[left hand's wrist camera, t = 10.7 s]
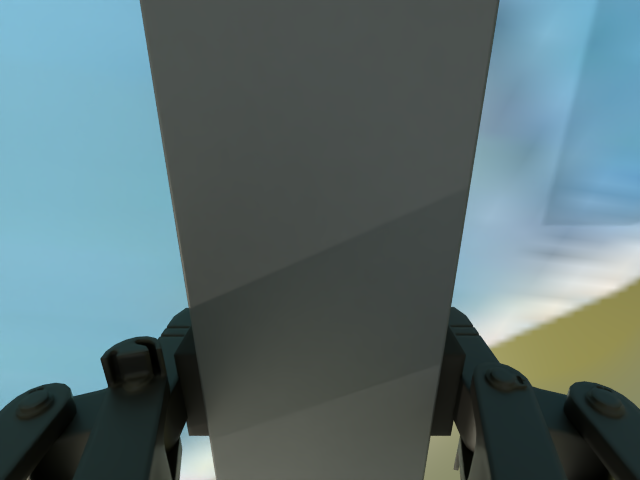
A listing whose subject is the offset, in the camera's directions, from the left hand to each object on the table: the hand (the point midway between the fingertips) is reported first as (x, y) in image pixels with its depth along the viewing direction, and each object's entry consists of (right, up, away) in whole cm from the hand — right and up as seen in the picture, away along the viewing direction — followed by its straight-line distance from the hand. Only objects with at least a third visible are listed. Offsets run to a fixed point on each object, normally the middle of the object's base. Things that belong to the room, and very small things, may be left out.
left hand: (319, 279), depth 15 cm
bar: (0, +31, -11) cm, 33 cm away
